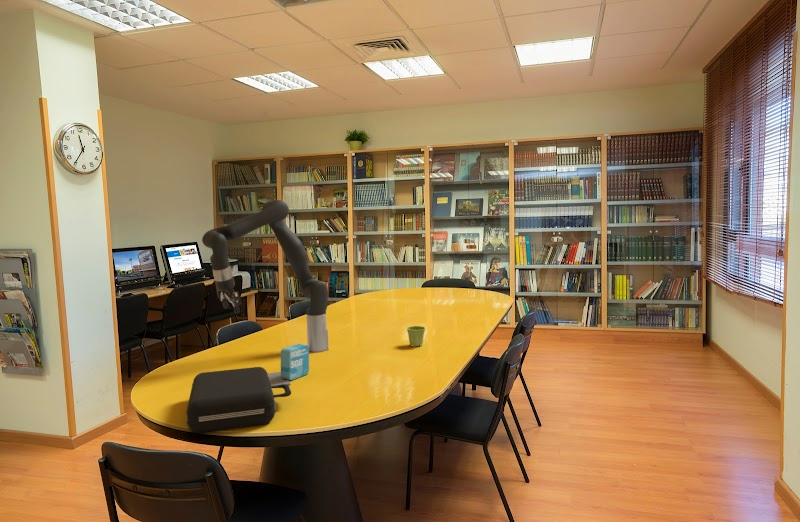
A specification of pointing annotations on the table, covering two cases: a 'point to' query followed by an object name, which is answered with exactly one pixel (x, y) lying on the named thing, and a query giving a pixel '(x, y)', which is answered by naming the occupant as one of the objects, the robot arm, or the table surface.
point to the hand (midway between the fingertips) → (232, 310)
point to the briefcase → (231, 399)
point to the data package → (294, 361)
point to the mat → (277, 379)
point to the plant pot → (416, 335)
